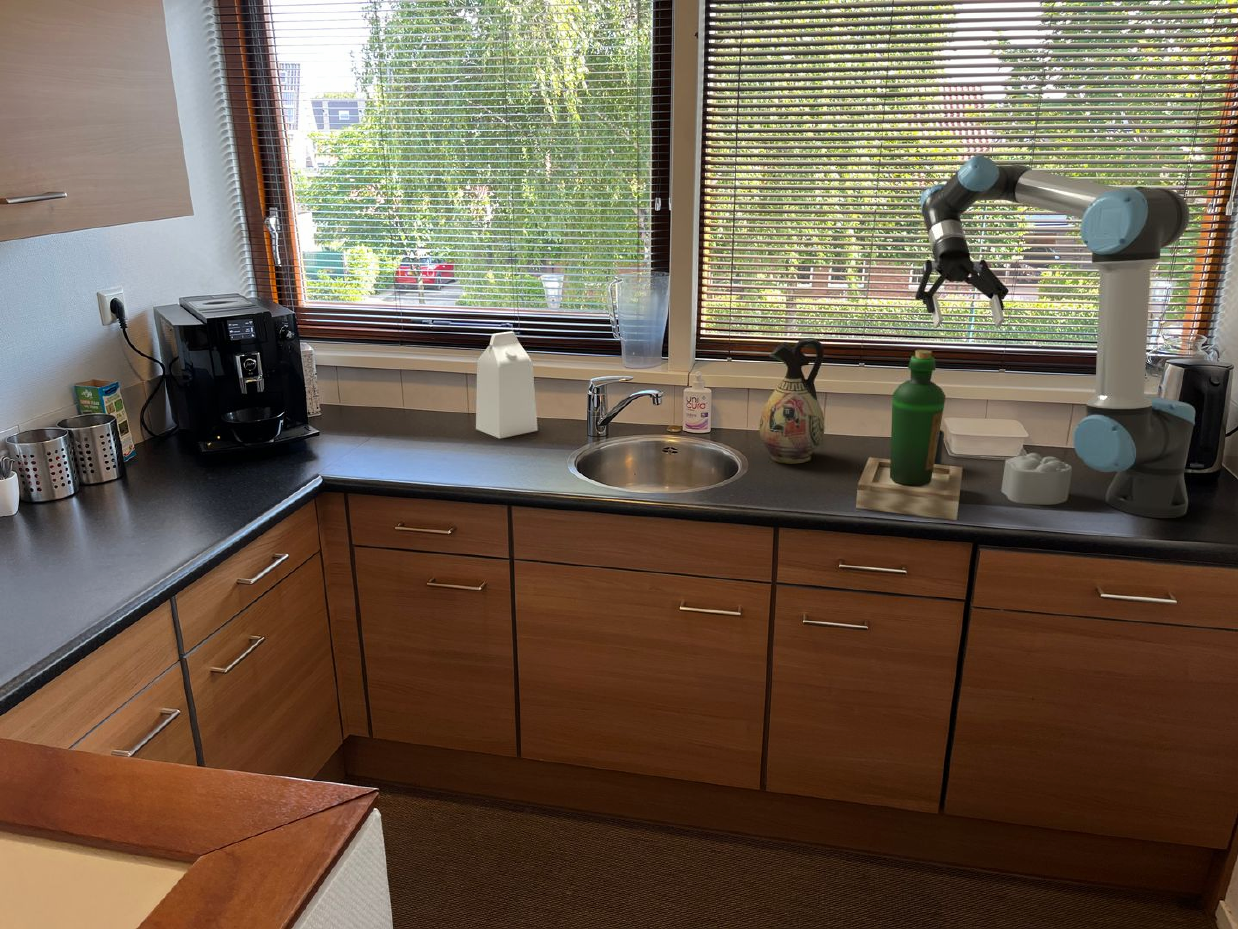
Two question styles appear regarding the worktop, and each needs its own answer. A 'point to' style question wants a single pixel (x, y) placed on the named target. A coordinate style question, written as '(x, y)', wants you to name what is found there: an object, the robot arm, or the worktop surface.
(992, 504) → the worktop surface
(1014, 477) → the lumpy-topped squat cylinder
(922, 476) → the bottle
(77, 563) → the worktop surface
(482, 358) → the milk
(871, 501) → the rectangular wooden box
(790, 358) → the ceramic jug
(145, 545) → the worktop surface
